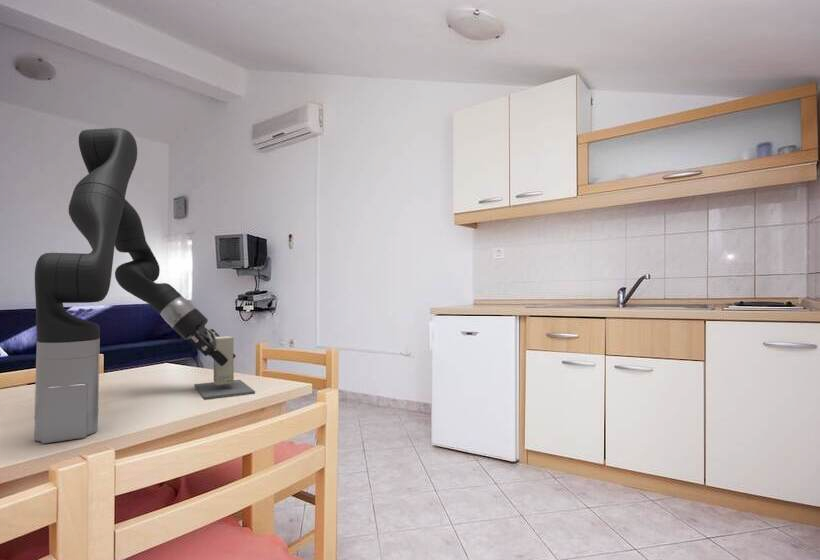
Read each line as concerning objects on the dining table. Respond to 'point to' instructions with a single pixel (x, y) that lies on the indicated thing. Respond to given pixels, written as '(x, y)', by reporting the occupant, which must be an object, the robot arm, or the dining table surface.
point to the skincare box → (226, 371)
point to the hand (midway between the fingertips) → (229, 361)
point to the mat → (223, 389)
